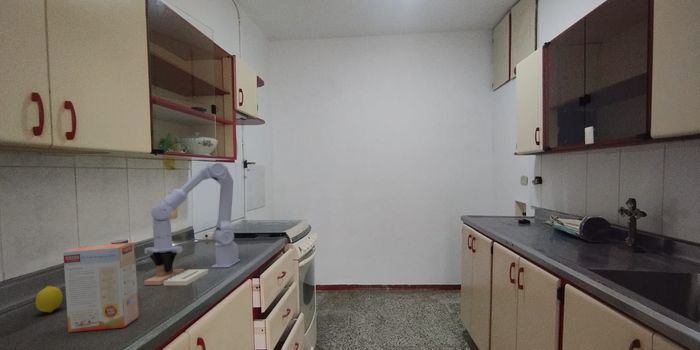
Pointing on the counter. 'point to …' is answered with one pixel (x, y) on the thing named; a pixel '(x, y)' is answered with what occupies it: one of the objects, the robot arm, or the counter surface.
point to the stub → (162, 275)
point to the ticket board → (186, 277)
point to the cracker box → (101, 286)
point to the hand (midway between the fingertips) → (165, 271)
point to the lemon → (48, 299)
